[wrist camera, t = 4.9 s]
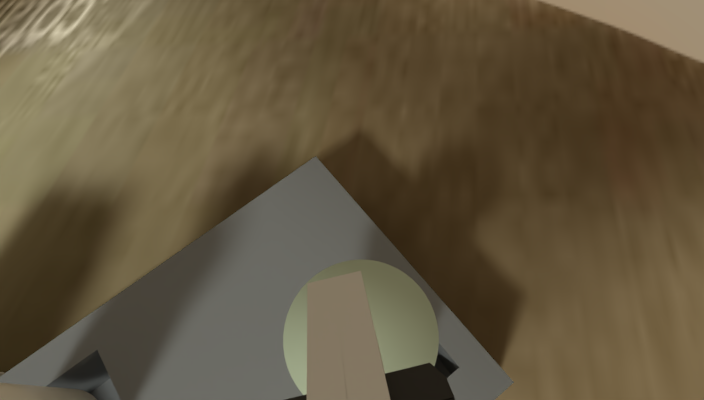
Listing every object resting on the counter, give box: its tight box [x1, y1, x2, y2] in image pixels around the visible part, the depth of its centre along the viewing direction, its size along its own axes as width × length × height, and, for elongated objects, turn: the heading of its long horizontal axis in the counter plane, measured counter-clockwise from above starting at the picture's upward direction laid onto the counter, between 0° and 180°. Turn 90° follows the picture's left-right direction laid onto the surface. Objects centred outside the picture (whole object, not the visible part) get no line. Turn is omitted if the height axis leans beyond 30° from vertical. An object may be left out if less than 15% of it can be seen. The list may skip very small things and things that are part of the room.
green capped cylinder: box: [283, 259, 439, 395], centre depth 21 cm, size 6×6×10 cm
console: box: [0, 156, 514, 400], centre depth 24 cm, size 16×23×5 cm
